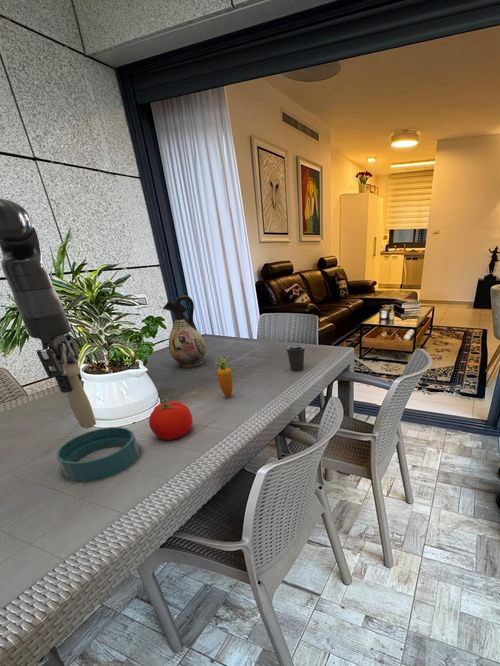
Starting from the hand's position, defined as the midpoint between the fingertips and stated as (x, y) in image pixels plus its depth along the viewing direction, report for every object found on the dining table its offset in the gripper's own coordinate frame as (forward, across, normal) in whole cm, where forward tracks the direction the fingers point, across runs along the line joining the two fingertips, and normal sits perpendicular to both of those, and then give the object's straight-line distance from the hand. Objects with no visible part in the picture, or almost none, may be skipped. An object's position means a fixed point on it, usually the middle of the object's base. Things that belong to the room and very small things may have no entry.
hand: (72, 385), depth 81 cm
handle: (+11, 0, 0) cm, 11 cm away
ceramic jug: (+22, -75, +21) cm, 81 cm away
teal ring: (+22, 0, 0) cm, 22 cm away
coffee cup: (+22, -51, +64) cm, 85 cm away
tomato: (+22, -9, +17) cm, 29 cm away
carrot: (+22, -30, +34) cm, 50 cm away
